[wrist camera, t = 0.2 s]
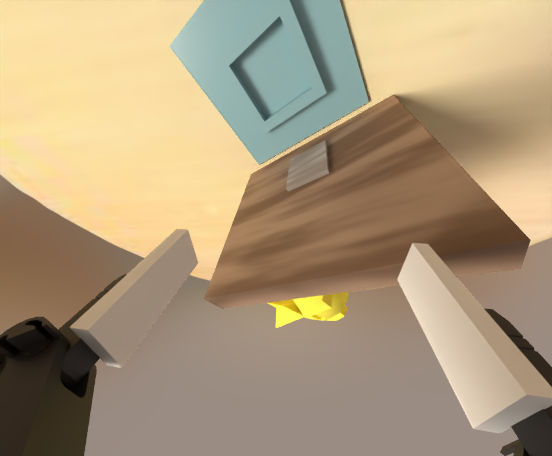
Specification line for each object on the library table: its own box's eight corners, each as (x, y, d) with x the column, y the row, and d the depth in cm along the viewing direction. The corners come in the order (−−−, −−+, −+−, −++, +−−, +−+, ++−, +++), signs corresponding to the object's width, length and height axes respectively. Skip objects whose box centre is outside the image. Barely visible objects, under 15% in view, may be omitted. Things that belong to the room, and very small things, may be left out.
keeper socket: (170, 46, 26) (163, 47, 25) (302, -128, 17) (301, -140, 15) (259, 163, 38) (257, 168, 37) (368, 100, 28) (371, 105, 27)
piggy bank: (312, 225, 49) (311, 302, 36) (362, 257, 56) (376, 331, 43) (267, 256, 62) (256, 321, 49) (313, 279, 69) (313, 341, 56)
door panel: (249, 171, 40) (200, 296, 22) (392, 90, 27) (532, 233, 10) (260, 185, 42) (222, 308, 24) (397, 114, 29) (521, 268, 12)
